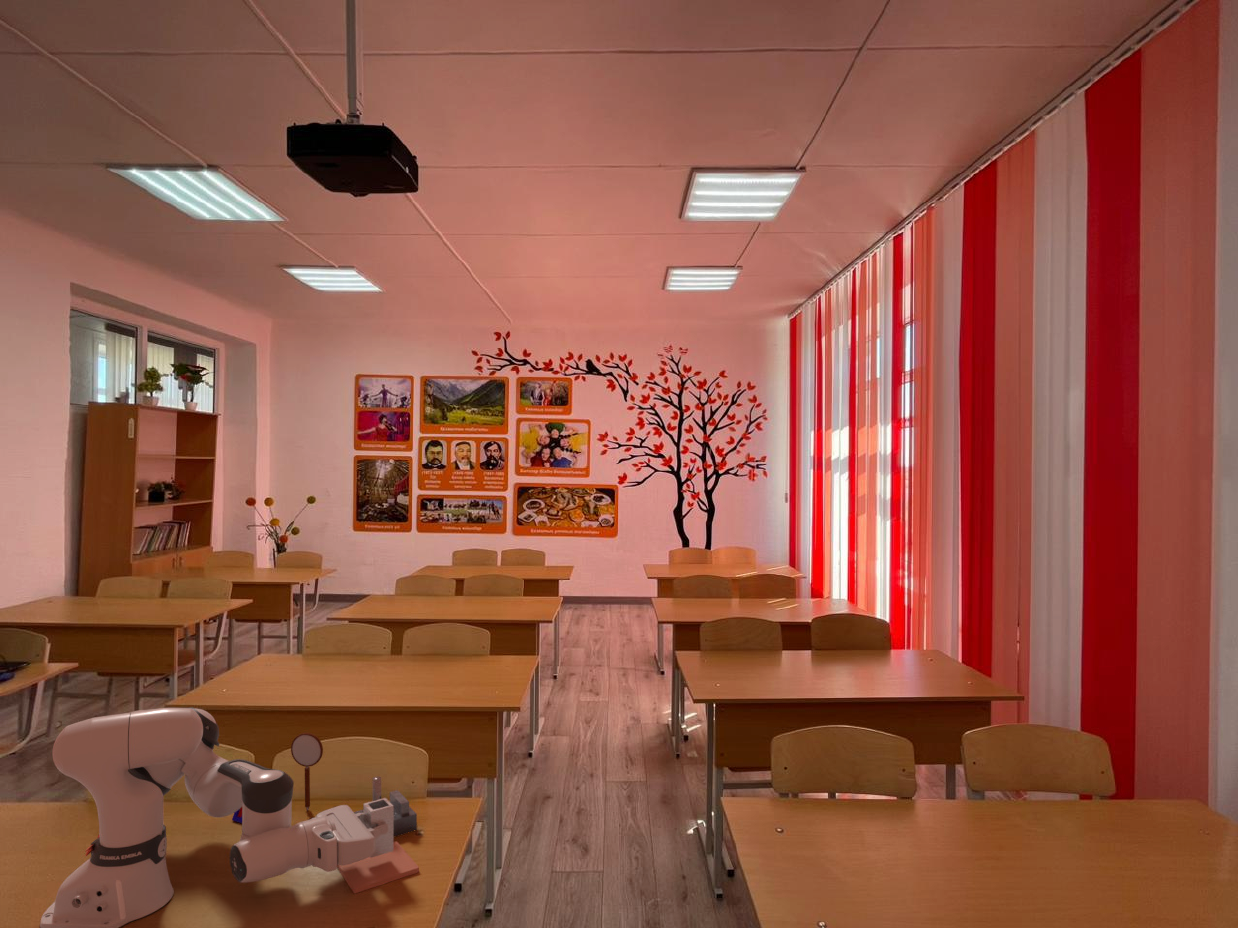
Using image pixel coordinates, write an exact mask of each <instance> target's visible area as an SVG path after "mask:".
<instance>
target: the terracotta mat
mask: <svg viewBox="0 0 1238 928" xmlns="http://www.w3.org/2000/svg"><path fill="white" fill-rule="evenodd" d="M337 869H338V871H339V873H340V875H341V876H342V877H343V879H344V880H345V882H346V883H347V885H348V887H349V888H350V890H351V891H352V893H353V895H354V894H358V893H360V892H361V893H362V892H363V891H367V890H370V889H373V888H376V887H378V886H382V885H384V884H388V883H390V882H394V881H396V880H399V879H403V878H405V877H409V876H411V875H415V874H418V873H419V872H420V867H419V866H418V864H417V863H416V862H415V861H414V859H412V857H411V856H410V855H409V854H408V853H407V851H406V850H405V849H404V848H403V847H402V846H401V844H400V843H399V842H398V841H393V851H392V852H389V853H385V854H382V855H379V856H376V857H372V858H371V857H368V858H366V859H363V860H360V861H357V862H354V863H351V864H348V865H338V864H337Z"/></svg>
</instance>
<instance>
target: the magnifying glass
mask: <svg viewBox="0 0 1238 928" xmlns="http://www.w3.org/2000/svg"><path fill="white" fill-rule="evenodd" d="M290 754H291V756H292V758H293V760H294V761H295V762H296V764H298V765H300V766H302V767H305V768H304V808H305V809H306V811H309V810H310V806H311V786H310V785H311V784H310V783H311V781H310V780H311V779H310V778H311V774H310V773H311V771H310V770H311V767H313V766H314V765H317V764H318V763H319V762H320V760H321V759H322V757H323V754H324V747H323V743H322V741H321V740H320V738H319V737H318V736H317V735H315V734H313V733H310V732H303V733H300V734H297V735H296V737H294V739H293V741H292V742H291V747H290Z"/></svg>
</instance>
